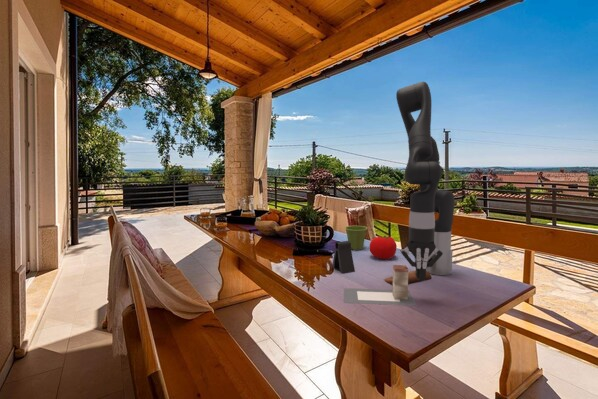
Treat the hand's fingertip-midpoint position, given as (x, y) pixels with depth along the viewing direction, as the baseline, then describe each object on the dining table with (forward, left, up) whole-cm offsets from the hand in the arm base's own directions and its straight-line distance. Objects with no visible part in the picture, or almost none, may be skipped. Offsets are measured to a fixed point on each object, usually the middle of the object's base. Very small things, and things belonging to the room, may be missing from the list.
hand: (420, 279), depth 101 cm
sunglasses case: (+1, -17, -8) cm, 19 cm away
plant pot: (+17, -64, -7) cm, 67 cm away
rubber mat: (+13, 0, -7) cm, 15 cm away
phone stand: (+24, -29, -7) cm, 39 cm away
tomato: (+5, -48, -7) cm, 49 cm away
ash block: (+6, 0, -6) cm, 9 cm away
